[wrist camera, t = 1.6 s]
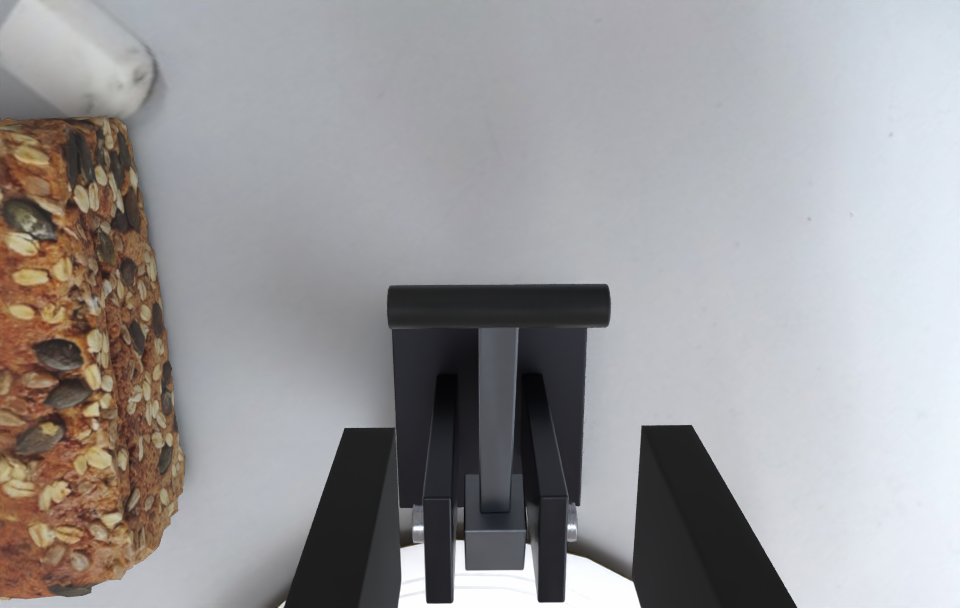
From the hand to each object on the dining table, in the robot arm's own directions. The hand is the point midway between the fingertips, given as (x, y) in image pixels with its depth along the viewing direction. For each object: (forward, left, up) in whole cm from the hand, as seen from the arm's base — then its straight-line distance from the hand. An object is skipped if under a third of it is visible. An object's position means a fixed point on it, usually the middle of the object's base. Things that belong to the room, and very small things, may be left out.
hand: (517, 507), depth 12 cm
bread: (+5, -20, -25) cm, 32 cm away
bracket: (+10, 0, -25) cm, 27 cm away
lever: (+5, 0, -14) cm, 14 cm away
